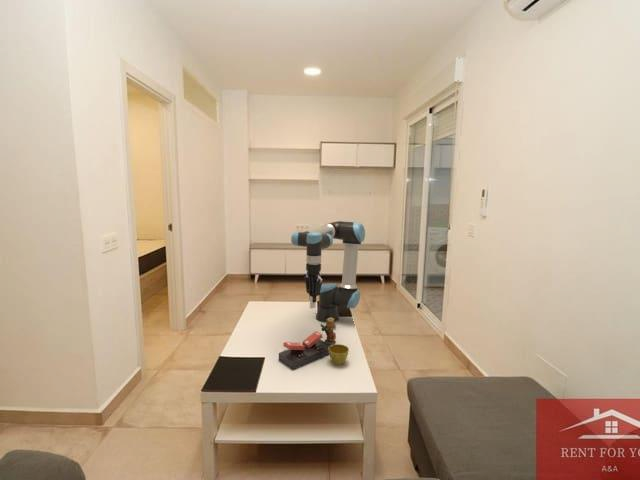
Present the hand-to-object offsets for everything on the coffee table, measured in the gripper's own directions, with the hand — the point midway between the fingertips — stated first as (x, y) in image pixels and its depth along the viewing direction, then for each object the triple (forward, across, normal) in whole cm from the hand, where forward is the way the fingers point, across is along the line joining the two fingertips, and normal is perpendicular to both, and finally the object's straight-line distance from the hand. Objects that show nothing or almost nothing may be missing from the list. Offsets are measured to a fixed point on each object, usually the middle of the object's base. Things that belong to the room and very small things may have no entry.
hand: (312, 307), depth 176 cm
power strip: (+24, +2, -6) cm, 25 cm away
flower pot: (+25, +16, +3) cm, 30 cm away
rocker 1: (+18, 0, -12) cm, 21 cm away
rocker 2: (+18, 0, 0) cm, 18 cm away
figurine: (+25, -2, +14) cm, 29 cm away
